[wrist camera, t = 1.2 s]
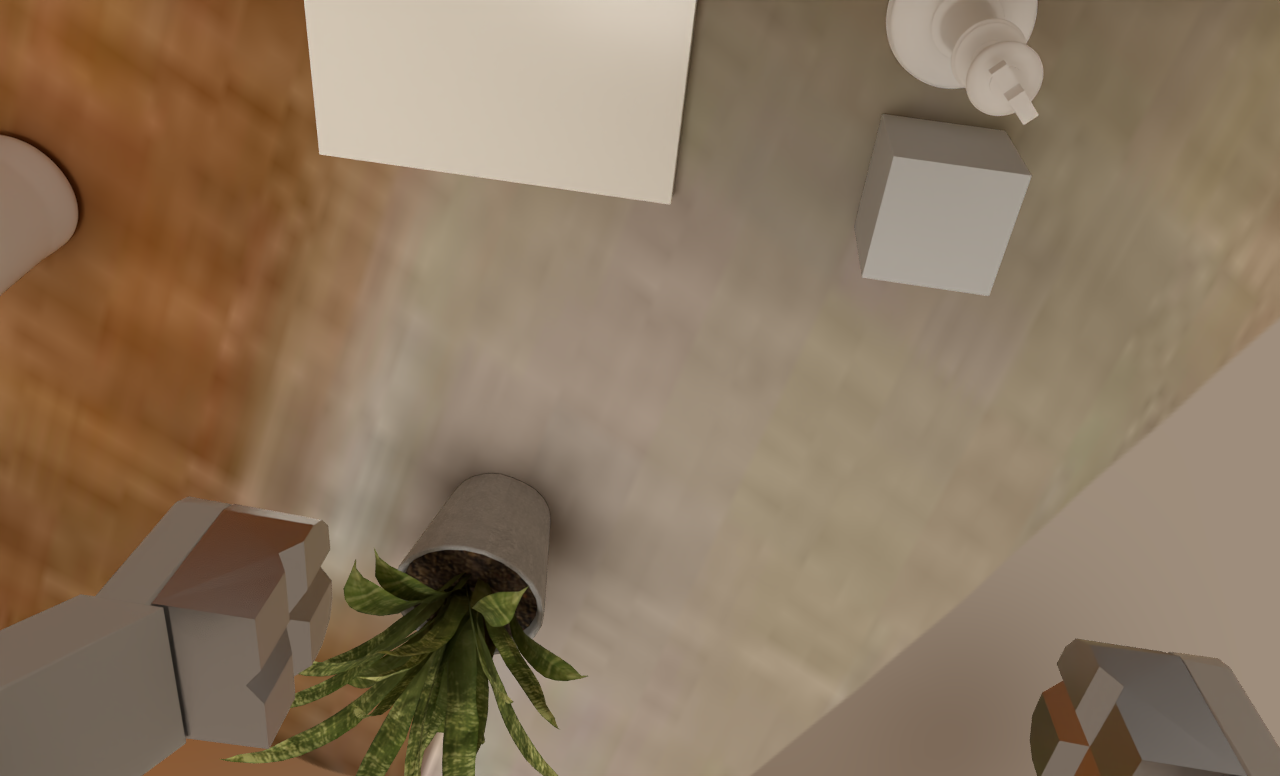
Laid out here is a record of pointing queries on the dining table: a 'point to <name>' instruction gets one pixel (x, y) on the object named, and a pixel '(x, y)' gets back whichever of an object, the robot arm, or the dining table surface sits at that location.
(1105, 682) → the robot arm
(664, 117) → the ceramic tile
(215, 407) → the dining table surface
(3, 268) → the drinking glass
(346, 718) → the house plant
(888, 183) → the grey block
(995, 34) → the chess piece
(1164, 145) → the dining table surface
